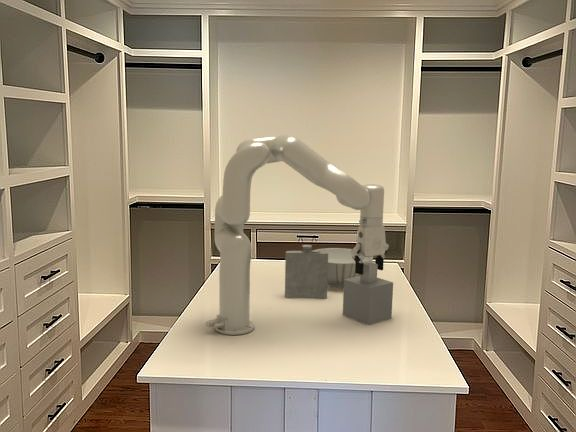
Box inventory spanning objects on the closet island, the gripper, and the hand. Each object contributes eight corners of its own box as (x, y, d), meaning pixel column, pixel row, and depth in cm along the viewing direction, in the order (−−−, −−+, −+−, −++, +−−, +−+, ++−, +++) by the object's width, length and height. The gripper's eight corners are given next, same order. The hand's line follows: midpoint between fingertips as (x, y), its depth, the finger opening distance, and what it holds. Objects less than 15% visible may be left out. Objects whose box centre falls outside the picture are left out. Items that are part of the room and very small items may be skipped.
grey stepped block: (368, 324, 185) (370, 269, 182) (342, 314, 195) (344, 262, 192) (391, 318, 192) (394, 265, 189) (365, 308, 202) (367, 257, 199)
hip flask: (284, 298, 212) (285, 246, 209) (285, 295, 216) (285, 243, 213) (327, 299, 212) (328, 247, 209) (326, 296, 216) (328, 244, 213)
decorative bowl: (354, 297, 215) (356, 266, 213) (294, 285, 228) (295, 256, 226) (381, 281, 237) (383, 253, 235) (325, 271, 251) (326, 245, 249)
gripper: (361, 226, 180) (359, 278, 183) (397, 221, 191) (394, 270, 193) (344, 222, 186) (343, 273, 189) (380, 217, 196) (378, 265, 199)
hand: (369, 271), depth 191 cm, fingers open, 9 cm apart
